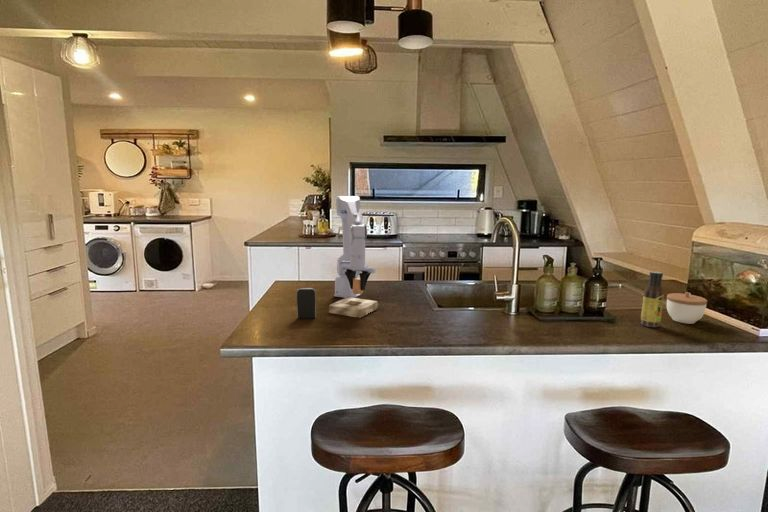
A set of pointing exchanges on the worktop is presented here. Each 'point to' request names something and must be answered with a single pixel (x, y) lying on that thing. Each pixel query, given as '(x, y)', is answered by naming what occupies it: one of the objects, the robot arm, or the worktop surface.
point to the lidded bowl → (685, 307)
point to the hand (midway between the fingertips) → (357, 289)
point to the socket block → (353, 307)
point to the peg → (357, 286)
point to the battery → (306, 303)
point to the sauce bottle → (652, 301)
